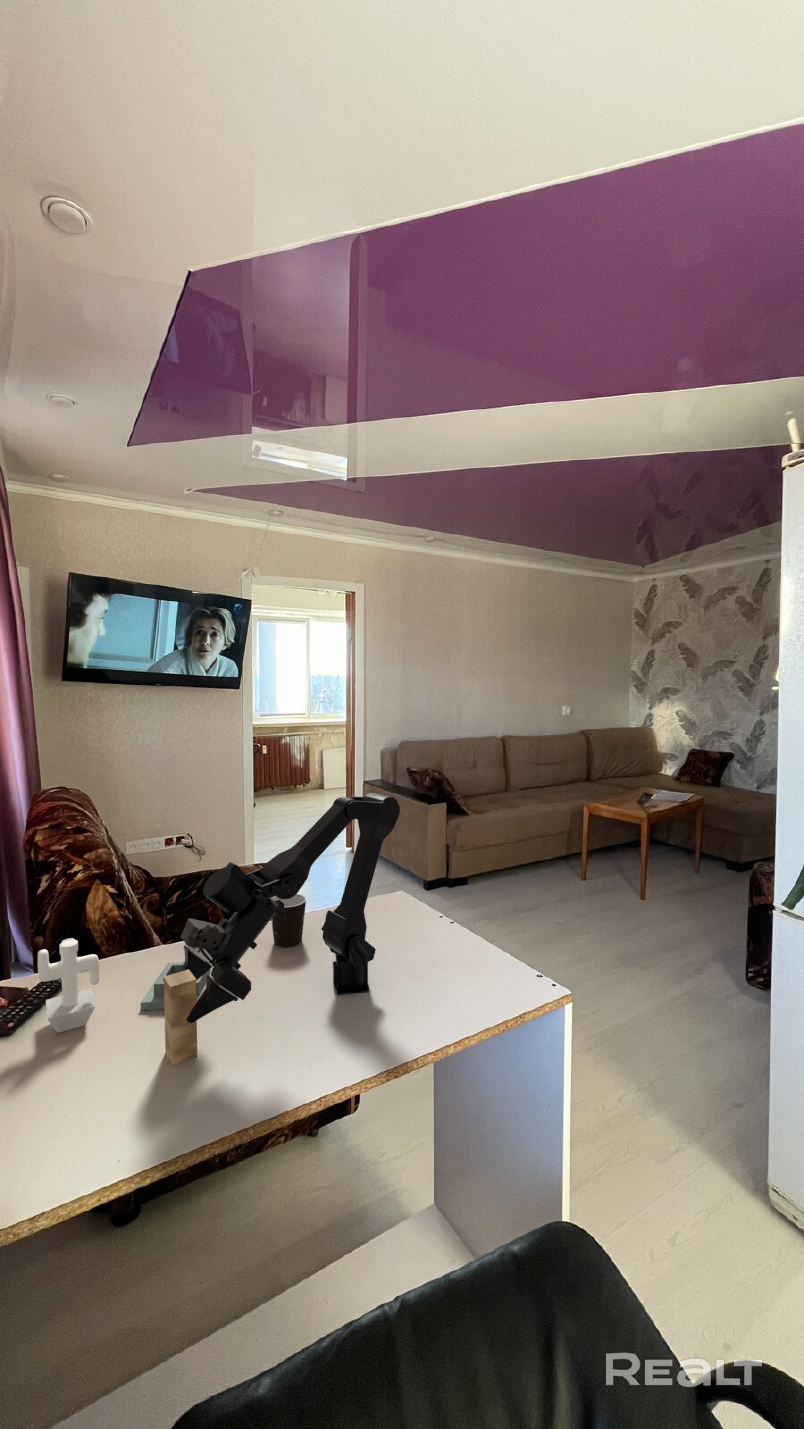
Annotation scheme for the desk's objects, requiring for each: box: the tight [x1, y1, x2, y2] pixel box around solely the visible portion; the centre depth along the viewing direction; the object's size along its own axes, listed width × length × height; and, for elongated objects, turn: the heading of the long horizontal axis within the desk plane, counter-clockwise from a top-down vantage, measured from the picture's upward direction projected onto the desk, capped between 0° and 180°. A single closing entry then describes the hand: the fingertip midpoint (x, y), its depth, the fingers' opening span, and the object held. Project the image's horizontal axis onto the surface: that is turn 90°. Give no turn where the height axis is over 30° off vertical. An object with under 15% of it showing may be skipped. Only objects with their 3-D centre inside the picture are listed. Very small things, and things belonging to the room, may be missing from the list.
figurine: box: [37, 937, 100, 1034], centre depth 103 cm, size 7×9×15 cm
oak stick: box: [164, 969, 198, 1066], centre depth 94 cm, size 4×4×13 cm
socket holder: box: [140, 960, 213, 1011], centre depth 113 cm, size 12×12×4 cm
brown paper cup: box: [270, 893, 307, 949], centre depth 137 cm, size 12×9×10 cm
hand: (180, 1008), depth 94 cm, fingers open, 9 cm apart
